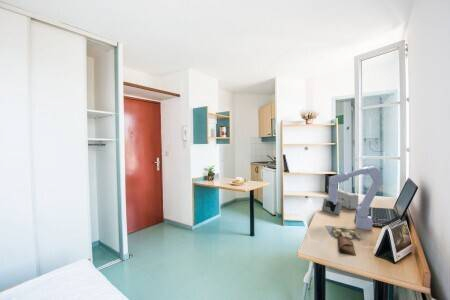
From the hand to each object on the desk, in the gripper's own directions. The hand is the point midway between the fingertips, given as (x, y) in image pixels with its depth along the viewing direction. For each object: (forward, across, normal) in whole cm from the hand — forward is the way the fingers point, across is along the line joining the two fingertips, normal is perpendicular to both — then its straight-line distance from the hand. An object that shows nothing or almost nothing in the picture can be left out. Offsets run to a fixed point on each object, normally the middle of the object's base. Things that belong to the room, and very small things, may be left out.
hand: (332, 211), depth 161 cm
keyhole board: (+9, +16, +3) cm, 18 cm away
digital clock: (+10, -28, +6) cm, 30 cm away
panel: (+9, +21, +3) cm, 23 cm away
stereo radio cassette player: (+10, -49, +23) cm, 55 cm away
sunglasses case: (+10, +36, 0) cm, 37 cm away
